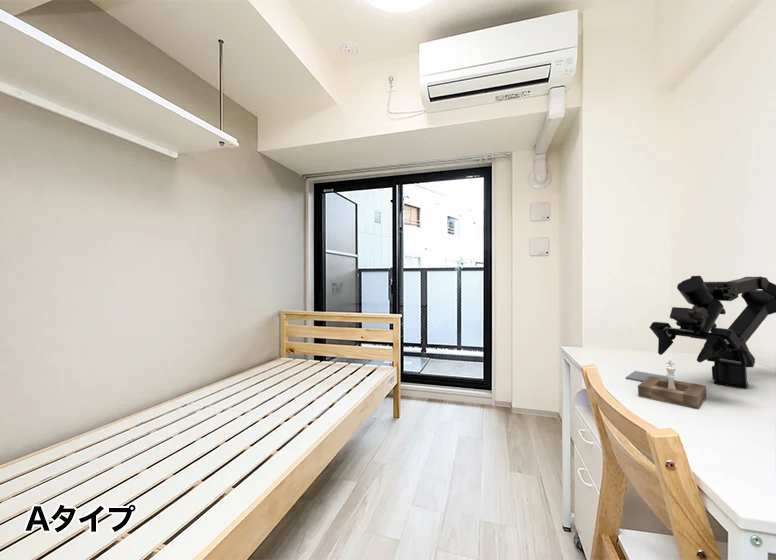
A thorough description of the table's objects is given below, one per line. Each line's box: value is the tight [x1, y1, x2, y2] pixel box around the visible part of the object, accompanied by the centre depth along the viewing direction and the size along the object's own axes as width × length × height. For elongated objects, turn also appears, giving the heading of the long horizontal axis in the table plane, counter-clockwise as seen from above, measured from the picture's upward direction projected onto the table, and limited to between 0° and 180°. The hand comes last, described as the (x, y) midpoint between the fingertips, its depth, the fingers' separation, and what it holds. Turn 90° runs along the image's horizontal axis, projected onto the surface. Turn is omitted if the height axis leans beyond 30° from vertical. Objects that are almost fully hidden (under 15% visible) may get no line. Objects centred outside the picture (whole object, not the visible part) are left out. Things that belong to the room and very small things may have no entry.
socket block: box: [637, 376, 707, 410], centre depth 85 cm, size 12×12×3 cm
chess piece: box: [665, 360, 677, 390], centre depth 86 cm, size 5×5×10 cm
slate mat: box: [625, 370, 675, 383], centre depth 100 cm, size 10×10×1 cm
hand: (677, 357), depth 86 cm, fingers open, 9 cm apart
